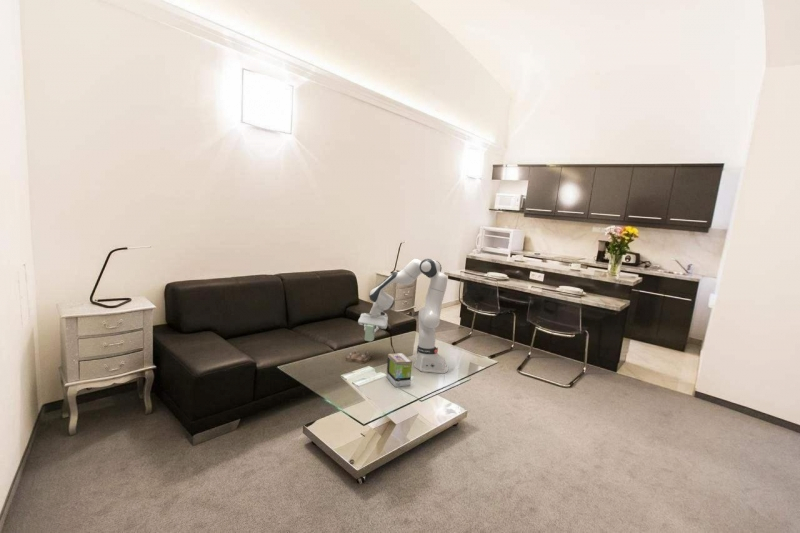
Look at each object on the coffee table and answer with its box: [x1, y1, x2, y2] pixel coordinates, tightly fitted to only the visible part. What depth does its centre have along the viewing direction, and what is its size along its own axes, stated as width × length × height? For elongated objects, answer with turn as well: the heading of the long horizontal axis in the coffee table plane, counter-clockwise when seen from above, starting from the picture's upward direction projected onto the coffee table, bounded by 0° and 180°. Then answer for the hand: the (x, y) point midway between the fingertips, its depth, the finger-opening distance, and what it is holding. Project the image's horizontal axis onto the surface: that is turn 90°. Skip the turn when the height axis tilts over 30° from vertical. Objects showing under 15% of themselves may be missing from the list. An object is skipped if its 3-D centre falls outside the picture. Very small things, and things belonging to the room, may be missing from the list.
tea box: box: [386, 352, 413, 388], centre depth 214 cm, size 15×10×15 cm, turn 22°
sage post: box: [364, 324, 376, 342], centre depth 244 cm, size 5×5×10 cm
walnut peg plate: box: [344, 348, 372, 364], centre depth 247 cm, size 14×12×5 cm
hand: (369, 331), depth 243 cm, fingers closed on sage post, 5 cm apart
